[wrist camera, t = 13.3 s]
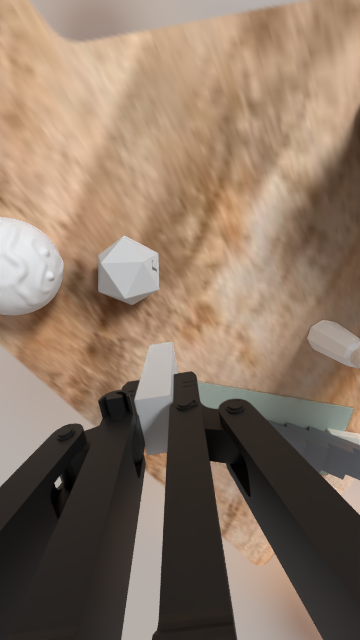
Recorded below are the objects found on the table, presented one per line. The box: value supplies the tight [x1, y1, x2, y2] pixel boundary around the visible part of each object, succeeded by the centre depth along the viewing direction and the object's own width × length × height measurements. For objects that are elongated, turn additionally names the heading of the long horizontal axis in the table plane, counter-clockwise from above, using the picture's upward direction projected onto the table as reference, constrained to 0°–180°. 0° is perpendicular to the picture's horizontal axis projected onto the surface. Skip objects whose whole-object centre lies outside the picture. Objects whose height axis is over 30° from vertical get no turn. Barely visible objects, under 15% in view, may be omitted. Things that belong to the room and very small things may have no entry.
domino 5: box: [308, 426, 360, 480], centre depth 45 cm, size 2×5×10 cm
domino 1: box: [274, 427, 306, 456], centre depth 44 cm, size 2×5×10 cm
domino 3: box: [286, 422, 354, 479], centre depth 44 cm, size 2×5×10 cm
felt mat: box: [197, 381, 354, 475], centre depth 47 cm, size 28×14×1 cm, turn 79°
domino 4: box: [326, 429, 360, 445], centre depth 47 cm, size 2×5×10 cm
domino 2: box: [266, 419, 329, 474], centre depth 44 cm, size 2×5×10 cm
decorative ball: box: [0, 217, 64, 316], centre depth 34 cm, size 12×12×12 cm
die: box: [98, 236, 159, 305], centre depth 36 cm, size 8×9×10 cm
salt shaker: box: [307, 320, 360, 369], centre depth 38 cm, size 5×5×11 cm
